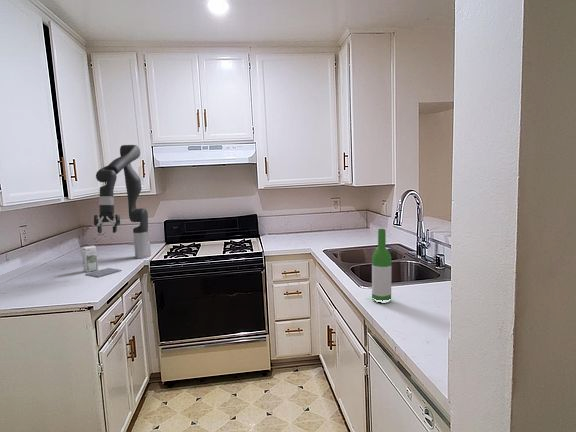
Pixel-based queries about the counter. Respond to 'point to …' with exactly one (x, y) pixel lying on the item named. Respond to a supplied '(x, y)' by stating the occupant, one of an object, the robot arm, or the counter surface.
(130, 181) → the robot arm
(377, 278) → the wine bottle
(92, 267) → the syrup box
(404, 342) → the counter surface
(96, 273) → the mat
